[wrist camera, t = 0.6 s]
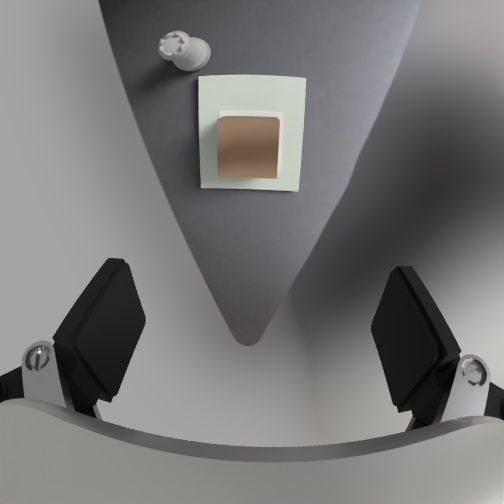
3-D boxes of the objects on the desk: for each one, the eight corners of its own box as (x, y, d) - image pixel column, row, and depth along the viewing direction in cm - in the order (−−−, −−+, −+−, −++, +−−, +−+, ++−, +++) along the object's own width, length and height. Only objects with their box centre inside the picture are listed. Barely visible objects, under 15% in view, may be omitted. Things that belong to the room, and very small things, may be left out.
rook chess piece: (177, 75, 26) (151, 70, 19) (172, 43, 24) (146, 31, 17) (213, 67, 26) (197, 58, 19) (209, 35, 23) (192, 18, 17)
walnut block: (224, 116, 28) (216, 119, 24) (277, 117, 28) (279, 120, 23) (224, 165, 31) (217, 176, 27) (275, 166, 31) (276, 178, 27)
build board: (200, 77, 26) (198, 76, 25) (304, 78, 26) (306, 78, 25) (202, 185, 34) (200, 188, 33) (297, 188, 33) (298, 191, 32)
